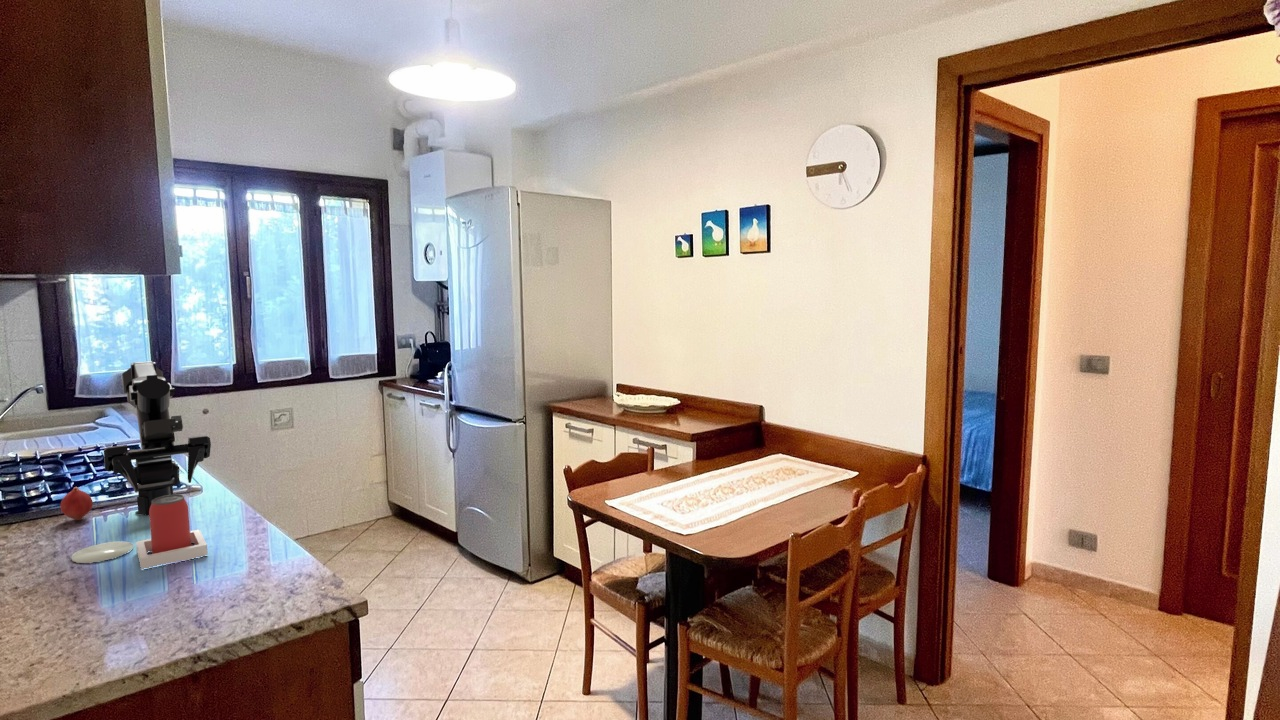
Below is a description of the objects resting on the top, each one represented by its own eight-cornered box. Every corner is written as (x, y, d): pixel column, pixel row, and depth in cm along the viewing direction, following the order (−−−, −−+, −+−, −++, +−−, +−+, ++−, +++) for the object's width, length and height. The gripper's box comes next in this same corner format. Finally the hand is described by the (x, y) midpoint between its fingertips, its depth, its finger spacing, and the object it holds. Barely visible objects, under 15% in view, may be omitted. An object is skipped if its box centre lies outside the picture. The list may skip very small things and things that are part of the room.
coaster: (111, 541, 145) (110, 539, 145) (145, 547, 142) (144, 544, 142) (59, 559, 136) (59, 557, 136) (94, 566, 133) (94, 563, 133)
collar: (137, 553, 139) (136, 541, 139) (200, 540, 146) (199, 529, 146) (141, 570, 131) (140, 558, 130) (207, 556, 138) (206, 544, 138)
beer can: (198, 551, 140) (194, 496, 139) (165, 563, 134) (160, 505, 133) (179, 546, 143) (174, 491, 141) (145, 557, 137) (140, 500, 135)
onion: (56, 522, 156) (52, 488, 155) (84, 514, 162) (81, 482, 161) (71, 525, 154) (68, 492, 153) (99, 517, 160) (96, 485, 159)
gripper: (99, 409, 139) (106, 473, 131) (206, 399, 150) (217, 457, 143) (102, 439, 145) (108, 502, 138) (204, 428, 157) (214, 485, 150)
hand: (163, 485), depth 142 cm, fingers open, 9 cm apart
